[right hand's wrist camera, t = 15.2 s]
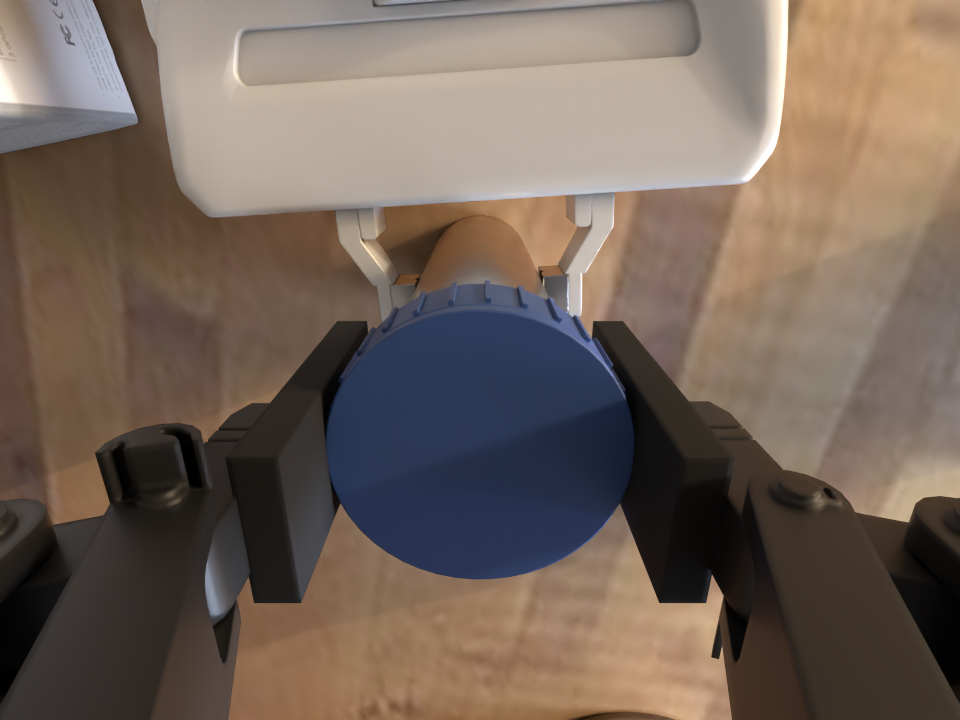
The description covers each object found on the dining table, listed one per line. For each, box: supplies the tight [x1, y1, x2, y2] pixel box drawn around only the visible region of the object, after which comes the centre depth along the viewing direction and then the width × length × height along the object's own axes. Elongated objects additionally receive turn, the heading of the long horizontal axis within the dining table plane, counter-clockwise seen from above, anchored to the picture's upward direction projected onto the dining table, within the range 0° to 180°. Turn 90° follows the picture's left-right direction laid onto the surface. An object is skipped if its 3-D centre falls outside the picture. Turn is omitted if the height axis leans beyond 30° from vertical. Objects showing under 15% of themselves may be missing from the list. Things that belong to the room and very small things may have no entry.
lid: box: [325, 280, 635, 579], centre depth 11 cm, size 6×6×2 cm
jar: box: [410, 216, 548, 302], centre depth 19 cm, size 5×5×18 cm
